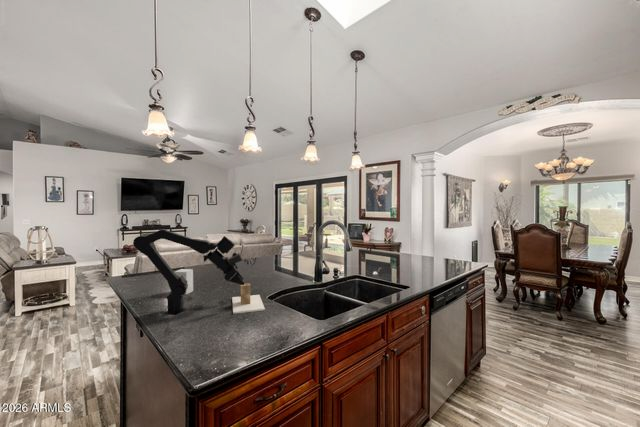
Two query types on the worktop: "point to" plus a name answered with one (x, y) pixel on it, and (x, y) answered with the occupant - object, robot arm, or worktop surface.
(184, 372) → the worktop surface
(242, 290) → the oak block
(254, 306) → the cutting board
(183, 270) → the supplement box
